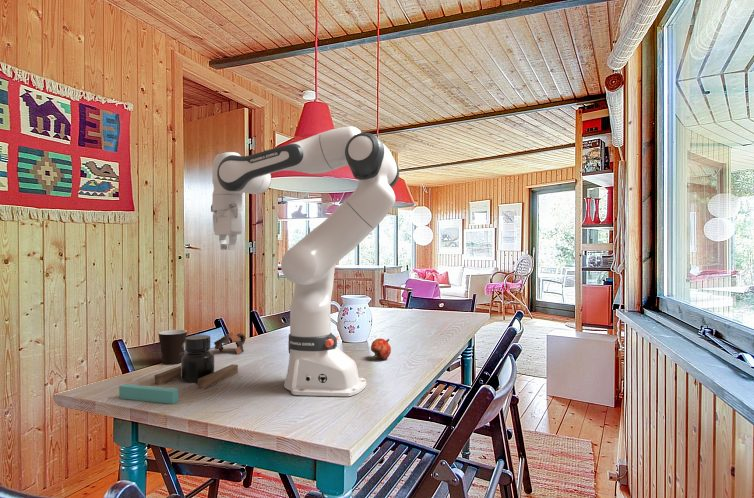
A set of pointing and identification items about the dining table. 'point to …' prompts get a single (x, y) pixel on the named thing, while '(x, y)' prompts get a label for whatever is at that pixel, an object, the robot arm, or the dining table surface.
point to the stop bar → (148, 393)
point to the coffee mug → (172, 346)
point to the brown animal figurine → (234, 338)
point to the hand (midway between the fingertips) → (227, 249)
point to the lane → (203, 381)
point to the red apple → (380, 348)
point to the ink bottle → (197, 358)
